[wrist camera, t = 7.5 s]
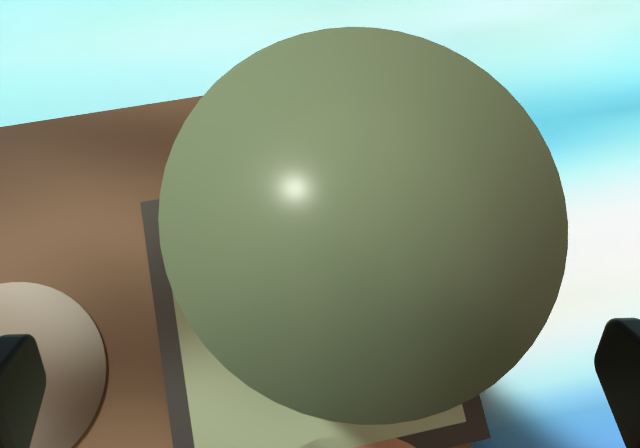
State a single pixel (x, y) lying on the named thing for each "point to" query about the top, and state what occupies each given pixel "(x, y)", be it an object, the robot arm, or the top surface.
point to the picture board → (137, 303)
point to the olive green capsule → (363, 225)
